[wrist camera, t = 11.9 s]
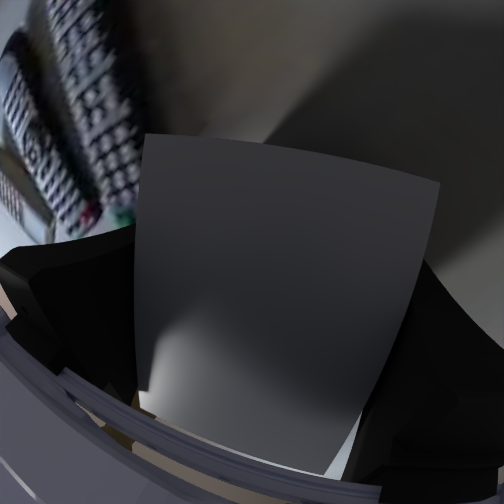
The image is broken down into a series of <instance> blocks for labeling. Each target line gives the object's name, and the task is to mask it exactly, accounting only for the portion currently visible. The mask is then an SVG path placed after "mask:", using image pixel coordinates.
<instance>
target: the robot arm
mask: <svg viewBox="0 0 504 504" xmlns="http://www.w3.org/2000/svg"><path fill="white" fill-rule="evenodd" d="M135 234H136V223H134V224H132V225H129V226H126V227H123V228H120V229H117V230H113V231H110V232H106V233H103V234H99V235H95V236H90V237H86V238H81V239H77V240H72V241H66V242H60V243H53V244H45V245H33V246H19V247H16V248H13V249H12V250H10V251H9V252H8V253H6V254H5V255H4V256H3V257H2V258H0V283H1V286H2V288H3V290H4V291H5V293H6V295H7V297H8V299H9V300H10V302H11V304H12V306H13V307H14V309H15V311H16V312H17V315H16V316H15V317H14V318H13V319H12V320H10V318H9V317H8V315H7V313H6V312H5V311H4V310H3V308H2V307H1V306H0V504H238V503H236V502H233V501H230V500H227V499H225V498H223V497H220V496H218V495H215V494H213V493H211V492H208V491H206V490H204V489H202V488H199V487H197V486H195V485H193V484H190V483H189V482H186V481H184V480H182V479H180V478H178V477H176V476H174V475H172V474H170V473H168V472H166V471H165V470H162V469H161V468H159V467H157V466H155V465H153V464H151V463H150V462H148V461H146V460H144V459H143V458H141V457H139V456H137V455H136V454H134V453H132V452H131V451H129V450H127V449H126V448H124V447H123V446H121V445H119V444H118V443H117V442H116V441H115V440H114V439H113V438H112V437H111V436H109V435H108V434H107V433H106V432H105V431H103V430H102V429H101V428H100V427H99V426H98V425H97V424H96V423H95V422H94V421H93V420H92V419H91V417H90V416H89V415H88V414H87V413H86V412H85V411H84V410H83V409H81V408H80V407H79V406H78V405H77V404H76V403H78V404H79V405H80V406H82V407H83V408H85V409H86V410H88V411H89V412H90V413H92V414H93V415H95V416H96V417H98V418H99V419H101V420H102V421H104V422H105V423H107V424H109V425H110V426H112V427H113V428H115V429H117V430H118V431H120V432H122V433H123V434H125V435H127V436H128V437H130V438H132V439H134V440H135V441H137V442H139V443H141V444H143V445H145V446H146V447H148V448H150V449H152V450H154V451H156V452H158V453H160V454H162V455H164V456H166V457H168V458H170V459H172V460H174V461H176V462H178V463H180V464H183V465H185V466H187V467H189V468H192V469H194V470H196V471H199V472H201V473H203V474H206V475H208V476H211V477H213V478H216V479H219V480H221V481H224V482H227V483H229V484H232V485H235V486H238V487H241V488H244V489H247V490H250V491H253V492H257V493H260V494H263V495H267V496H270V497H274V498H278V499H282V500H285V501H290V502H294V503H298V504H504V483H503V484H498V468H500V467H502V466H504V349H503V348H502V347H500V346H499V345H498V344H497V343H496V342H495V341H494V340H493V339H492V338H491V337H489V336H488V335H487V334H486V333H485V332H484V331H483V330H482V329H481V328H480V327H479V326H478V325H477V324H476V323H475V322H474V321H473V320H472V319H471V318H470V317H469V315H468V314H467V313H466V312H465V311H464V310H463V309H462V308H461V306H460V305H459V304H458V303H457V302H456V301H455V300H454V298H453V297H452V296H451V295H450V294H449V292H448V291H447V290H446V288H445V287H444V286H443V285H442V283H441V282H440V281H439V279H438V278H437V277H436V275H435V274H434V273H433V271H432V270H431V268H430V267H429V266H428V264H427V263H426V261H425V260H424V258H423V261H422V264H421V268H420V271H419V274H418V278H417V281H416V284H415V287H414V290H413V293H412V296H411V299H410V302H409V305H408V308H407V310H406V313H405V316H404V318H403V321H402V324H401V326H400V329H399V332H398V334H397V337H396V339H395V341H394V344H393V346H392V349H391V351H390V353H389V356H388V358H387V360H386V363H385V365H384V367H383V369H382V371H381V374H380V376H379V378H378V380H377V382H376V384H375V386H374V388H373V390H372V392H371V394H370V396H369V398H368V400H367V402H366V404H365V406H364V408H363V410H362V414H361V418H360V422H359V426H358V429H357V433H356V436H355V440H354V443H353V446H352V449H351V452H350V455H349V458H348V461H347V464H346V467H345V470H344V472H343V475H342V478H341V480H340V481H339V480H333V479H328V478H323V477H318V476H313V475H308V474H304V473H300V472H295V471H291V470H287V469H284V468H280V467H276V466H273V465H269V464H266V463H262V462H259V461H256V460H253V459H249V458H246V457H243V456H240V455H237V454H235V453H232V452H229V451H226V450H223V449H221V448H218V447H215V446H213V445H210V444H208V443H205V442H203V441H200V440H198V439H195V438H193V437H191V436H188V435H186V434H184V433H182V432H179V431H177V430H175V429H173V428H171V427H168V426H166V425H164V424H162V423H160V422H158V421H156V420H154V419H152V418H150V417H148V416H146V415H144V414H142V413H140V412H139V411H137V410H135V409H133V408H131V404H132V401H133V398H134V396H135V393H136V390H137V388H138V379H137V366H136V350H135V328H134V257H135ZM75 402H76V403H75ZM287 504H291V503H287Z"/></svg>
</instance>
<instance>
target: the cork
mask: <svg viewBox="0 0 504 504" xmlns="http://www.w3.org/2000/svg"><path fill="white" fill-rule="evenodd" d="M131 408H133V409H135V410H137V411H139V412H140V413H142V414H144V415H146V416H148V417H150V418H152V419H155V418H156V417H157V416H155V415H154V414H152V413H150V412H148V411H146V410H144V409H142V408H140V400H139V390H138V388H137V390H136V393H135V396H134V398H133V401H132V404H131ZM100 428H101V429H102V430H103V431H105V432H106V433H107V434H108V435H109V436H111V437H112V438H113V439H114V440H115V441H116V442H117V443H118V444H119V445H121V446H123V447H124V448H126V449H127V450H129V451H131V452H132V444H133V443H134V442H135V440H134V439H132V438H130V437H128V436H127V435H125V434H123V433H122V432H120V431H118V430H117V429H115V428H113V427H112V426H110V425H109V424H107V423H106V424H105V426H103V427H100Z"/></svg>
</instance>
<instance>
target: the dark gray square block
mask: <svg viewBox="0 0 504 504" xmlns="http://www.w3.org/2000/svg"><path fill="white" fill-rule="evenodd" d="M440 184H441V183H440V182H436V181H433V180H430V179H426V178H423V177H420V176H416V175H412V174H409V173H405V172H402V171H398V170H394V169H390V168H386V167H382V166H378V165H374V164H370V163H365V162H361V161H357V160H352V159H347V158H343V157H338V156H333V155H328V154H323V153H317V152H312V151H306V150H300V149H294V148H288V147H282V146H275V145H268V144H261V143H253V142H245V141H237V140H228V139H218V138H207V137H195V136H181V135H163V134H146V135H145V142H144V149H143V156H142V164H141V173H140V182H139V193H138V204H137V217H136V234H135V257H134V328H135V350H136V366H137V379H138V390H139V400H140V408H142V409H144V410H146V411H148V412H150V413H152V414H154V415H155V416H157V417H159V418H161V419H163V420H165V421H168V422H170V423H172V424H174V425H176V426H178V427H180V428H182V429H185V430H187V431H189V432H191V433H194V434H196V435H198V436H201V437H203V438H205V439H208V440H210V441H213V442H215V443H218V444H220V445H223V446H225V447H228V448H231V449H233V450H236V451H239V452H242V453H245V454H248V455H251V456H254V457H257V458H260V459H263V460H266V461H269V462H273V463H276V464H280V465H283V466H287V467H291V468H294V469H298V470H302V471H306V472H310V473H315V474H319V475H324V474H325V472H326V471H327V469H328V468H329V466H330V464H331V463H332V461H333V460H334V458H335V457H336V455H337V453H338V452H339V450H340V449H341V447H342V445H343V444H344V442H345V440H346V439H347V437H348V435H349V433H350V432H351V430H352V428H353V426H354V425H355V423H356V421H357V419H358V417H359V415H360V414H361V412H362V410H363V408H364V406H365V404H366V402H367V400H368V398H369V396H370V394H371V392H372V390H373V388H374V386H375V384H376V382H377V380H378V378H379V376H380V374H381V371H382V369H383V367H384V365H385V363H386V360H387V358H388V356H389V353H390V351H391V349H392V346H393V344H394V341H395V339H396V337H397V334H398V332H399V329H400V326H401V324H402V321H403V318H404V316H405V313H406V310H407V308H408V305H409V302H410V299H411V296H412V293H413V290H414V287H415V284H416V281H417V278H418V274H419V271H420V268H421V264H422V261H423V257H424V254H425V250H426V247H427V243H428V239H429V235H430V231H431V227H432V223H433V218H434V214H435V209H436V204H437V200H438V195H439V189H440Z"/></svg>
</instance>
